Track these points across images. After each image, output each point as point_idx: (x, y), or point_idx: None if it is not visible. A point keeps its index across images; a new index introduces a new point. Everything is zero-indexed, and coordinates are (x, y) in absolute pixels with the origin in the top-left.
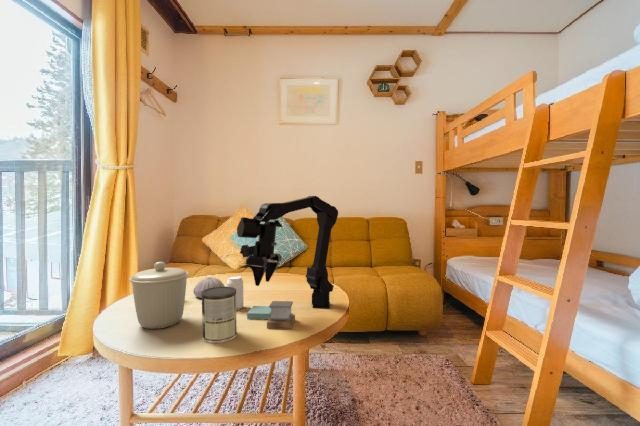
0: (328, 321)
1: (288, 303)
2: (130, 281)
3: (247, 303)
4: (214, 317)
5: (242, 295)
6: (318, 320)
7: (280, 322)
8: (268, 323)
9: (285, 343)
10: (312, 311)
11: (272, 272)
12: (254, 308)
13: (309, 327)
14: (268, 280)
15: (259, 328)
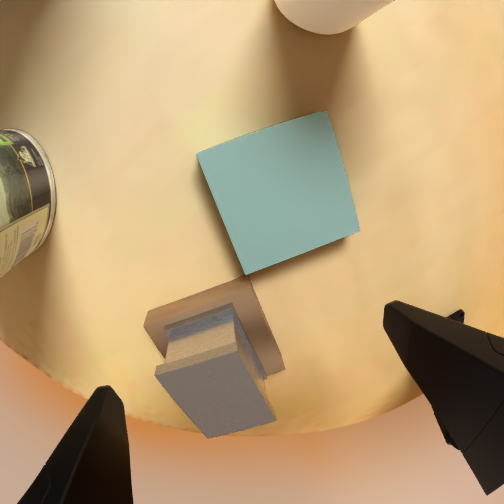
0: (304, 423)
1: (236, 422)
2: None
3: (398, 28)
4: None
5: (356, 13)
6: (304, 405)
7: None
8: (147, 328)
9: None
10: (383, 351)
11: (438, 414)
12: (288, 142)
13: None
14: (389, 334)
15: (130, 284)
